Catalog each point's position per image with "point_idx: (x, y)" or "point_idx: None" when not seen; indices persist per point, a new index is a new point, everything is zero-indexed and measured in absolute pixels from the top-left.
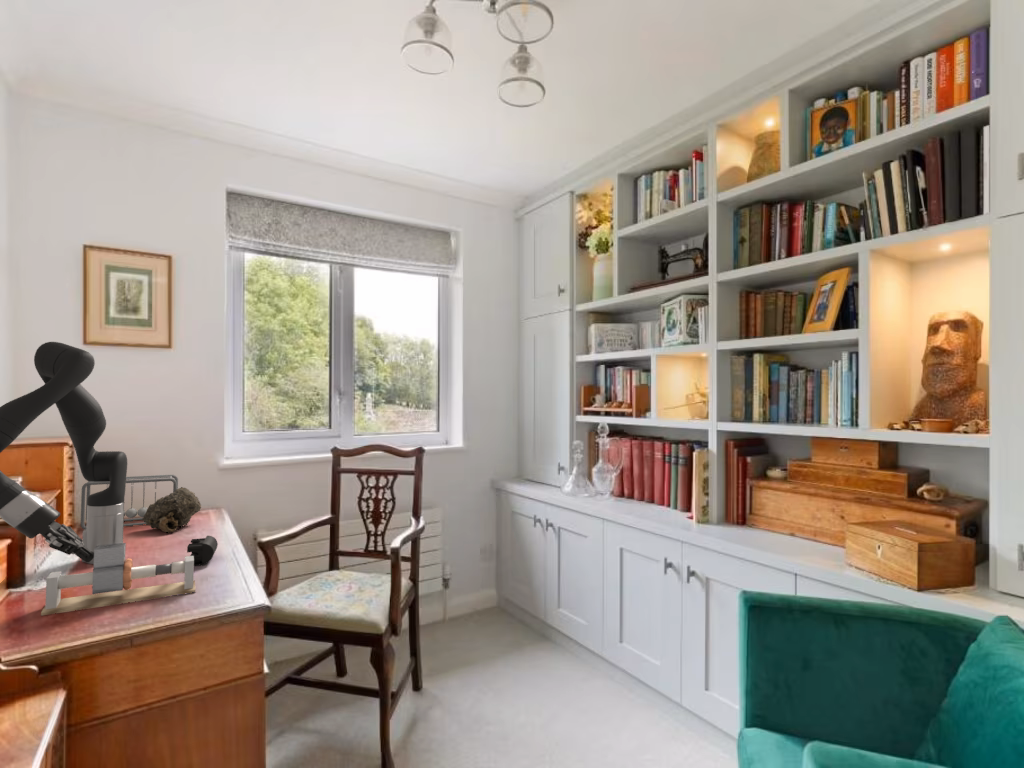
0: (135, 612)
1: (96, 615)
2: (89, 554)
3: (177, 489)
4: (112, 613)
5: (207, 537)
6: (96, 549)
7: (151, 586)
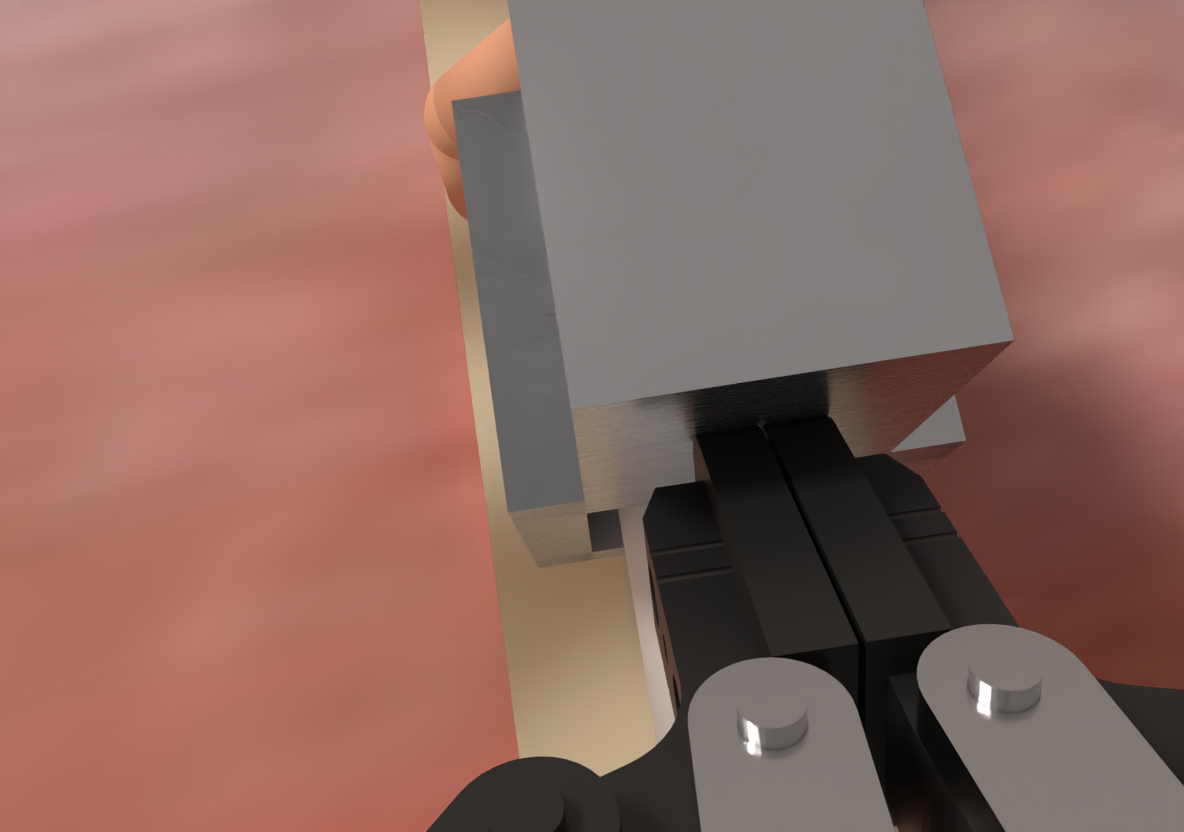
0: (1115, 91)
1: (1117, 418)
2: (882, 497)
3: None
4: (1093, 284)
5: None
6: (990, 297)
7: (433, 76)
